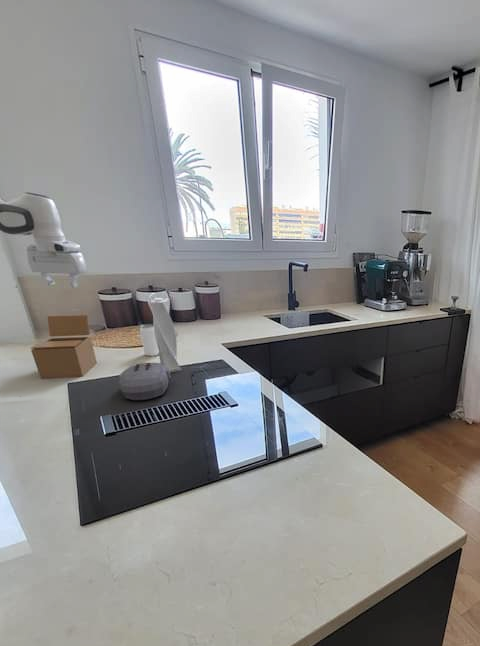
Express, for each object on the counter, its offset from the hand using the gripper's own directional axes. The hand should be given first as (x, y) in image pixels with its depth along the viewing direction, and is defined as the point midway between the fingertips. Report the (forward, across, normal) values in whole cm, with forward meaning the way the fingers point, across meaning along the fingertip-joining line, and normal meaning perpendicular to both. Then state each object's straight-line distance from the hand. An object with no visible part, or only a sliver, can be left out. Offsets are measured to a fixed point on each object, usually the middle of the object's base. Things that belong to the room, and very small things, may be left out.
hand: (63, 286), depth 142 cm
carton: (+29, +3, -10) cm, 31 cm away
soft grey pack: (+29, +42, -20) cm, 55 cm away
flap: (+14, 0, -2) cm, 14 cm away
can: (+29, +20, +15) cm, 38 cm away
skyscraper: (+29, +37, 0) cm, 47 cm away
